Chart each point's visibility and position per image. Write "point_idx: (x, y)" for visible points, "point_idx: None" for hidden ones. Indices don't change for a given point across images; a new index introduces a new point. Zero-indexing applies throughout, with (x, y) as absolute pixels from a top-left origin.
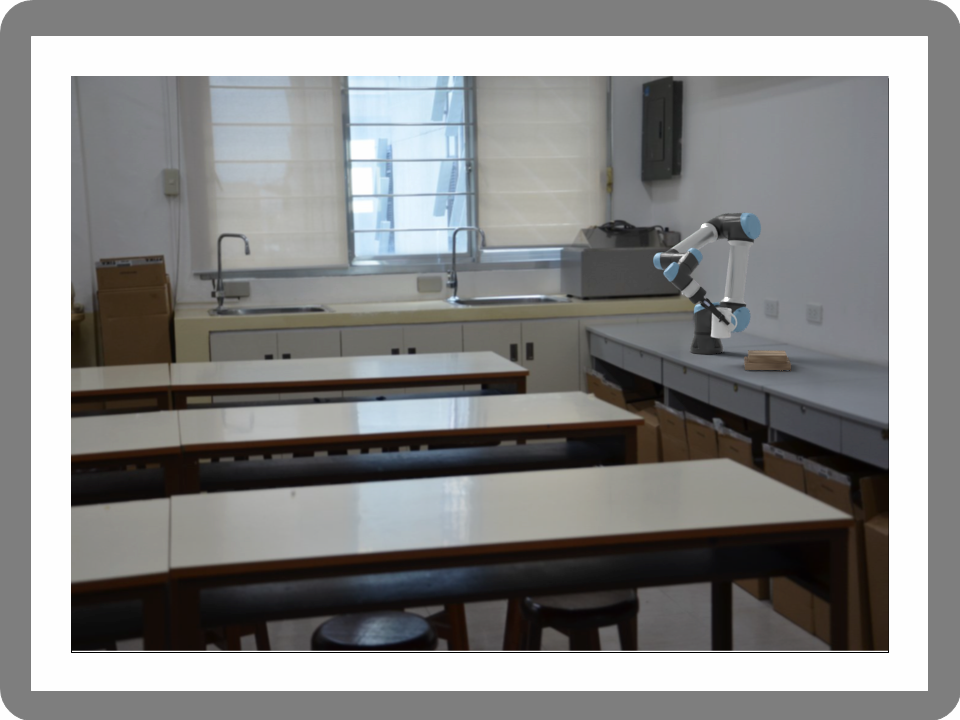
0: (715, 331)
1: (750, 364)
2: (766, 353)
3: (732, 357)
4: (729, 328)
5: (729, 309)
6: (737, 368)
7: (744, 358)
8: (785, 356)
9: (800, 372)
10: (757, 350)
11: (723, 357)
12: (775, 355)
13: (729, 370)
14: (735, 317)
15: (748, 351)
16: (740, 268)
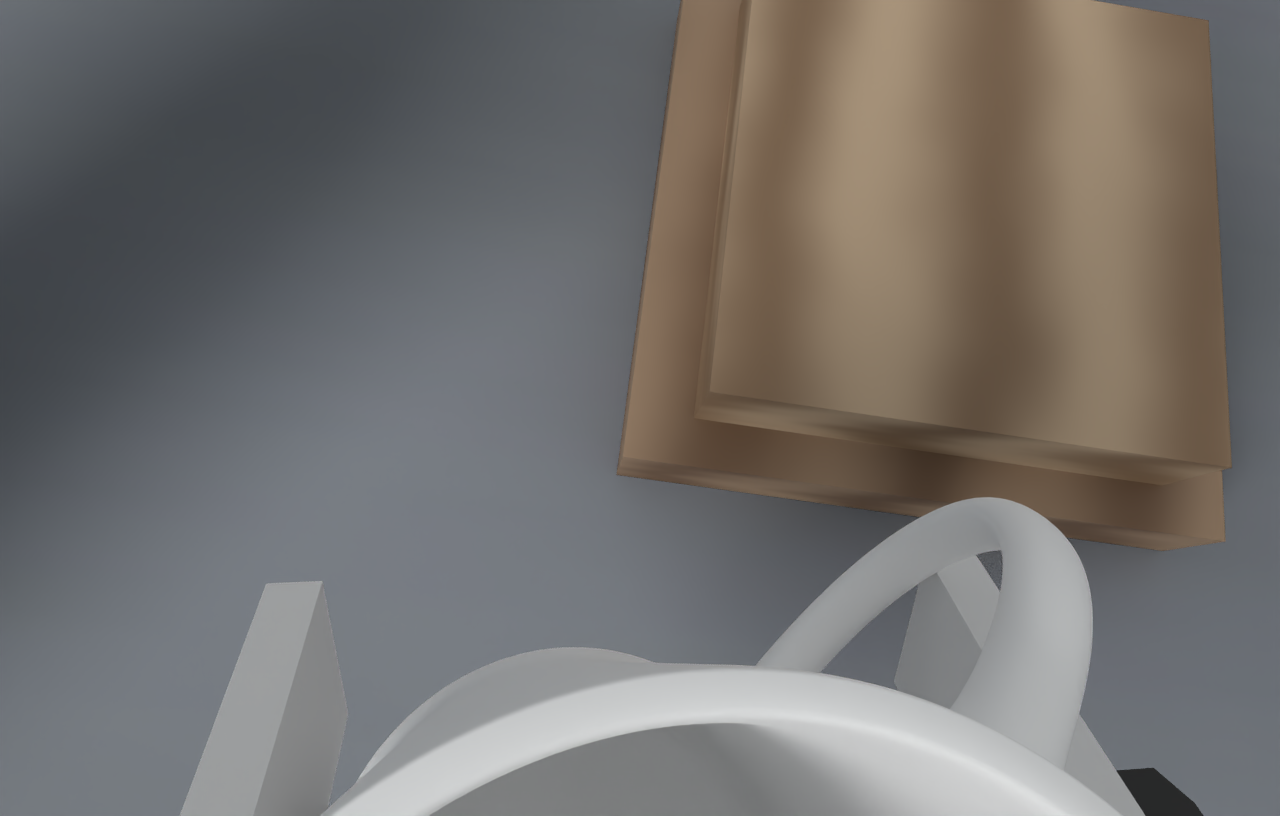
0: None
1: (1212, 476)
2: (1023, 205)
3: (36, 548)
4: None
5: (509, 770)
6: None
7: (770, 478)
8: (1203, 40)
9: (1210, 34)
10: (729, 264)
11: (5, 681)
12: (1193, 136)
13: (1166, 739)
14: (1062, 538)
15: (829, 406)
16: None
